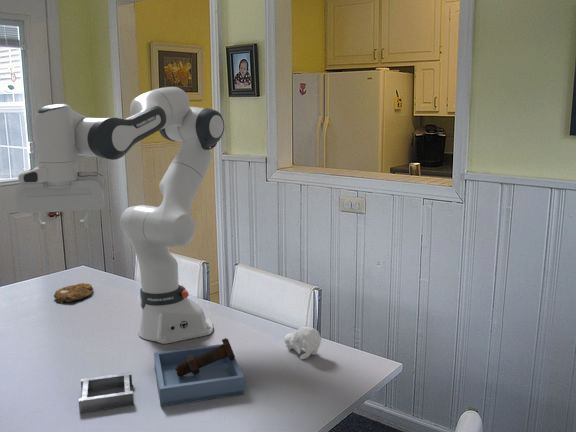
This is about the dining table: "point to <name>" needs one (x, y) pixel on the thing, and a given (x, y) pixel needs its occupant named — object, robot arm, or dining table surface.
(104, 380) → the bracket
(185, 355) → the tray
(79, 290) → the decorative rock
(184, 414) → the dining table surface
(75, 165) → the robot arm
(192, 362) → the bolt
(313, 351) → the white figurine
